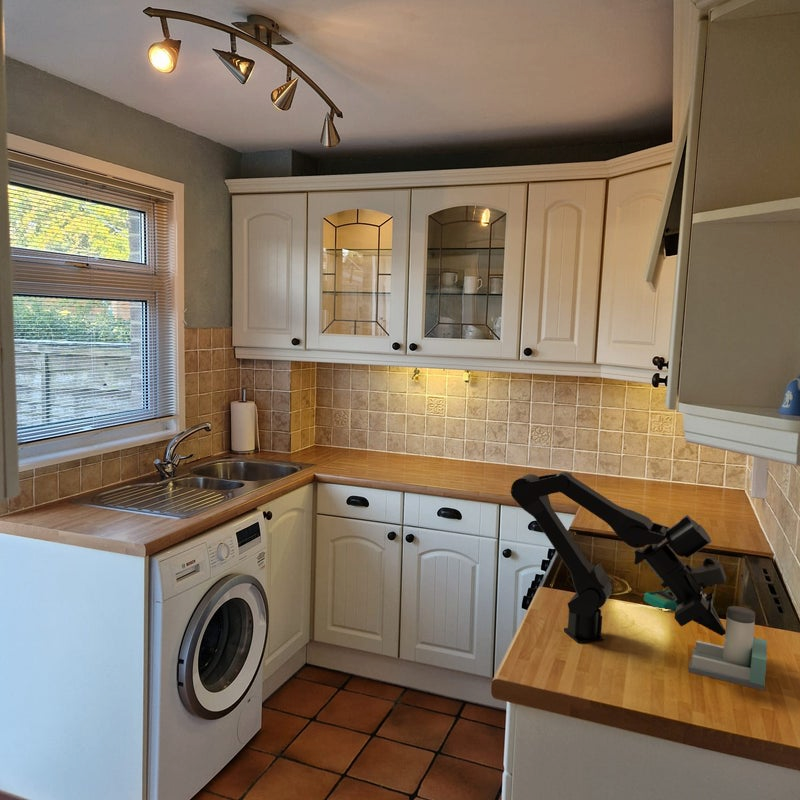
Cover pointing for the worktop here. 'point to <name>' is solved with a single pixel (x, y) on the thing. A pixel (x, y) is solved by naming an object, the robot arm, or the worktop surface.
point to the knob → (739, 636)
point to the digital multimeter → (661, 599)
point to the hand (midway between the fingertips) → (724, 634)
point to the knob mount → (712, 664)
